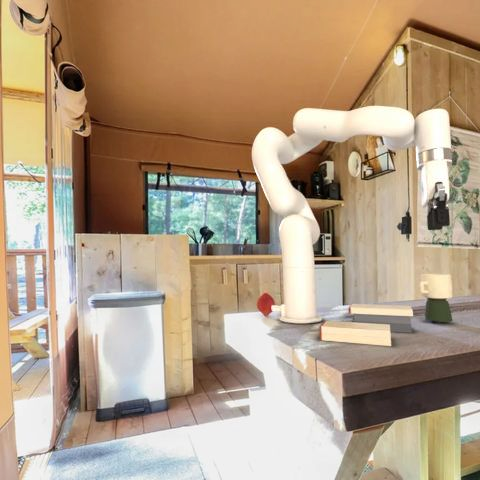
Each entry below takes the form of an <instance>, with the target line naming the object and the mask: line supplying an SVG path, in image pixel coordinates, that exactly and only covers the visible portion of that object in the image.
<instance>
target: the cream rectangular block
mask: <svg viewBox="0 0 480 480" xmlns="http://www.w3.org/2000/svg"><path fill="white" fill-rule="evenodd" d="M318 332H319V333H318V335H319V341H324V342H337V343H349V344H361V345H371V346H383V347H384V346H385V347H392V335H391V334H392V333H391V332H390V324H373V323H356V322H352V321H337V320H336V321H335V320H324V321H323V322H322V323H321V324H320V325H319V326H318Z"/></svg>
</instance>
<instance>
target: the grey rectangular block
mask: <svg viewBox="0 0 480 480" xmlns="http://www.w3.org/2000/svg"><path fill="white" fill-rule="evenodd" d="M411 317H412V316H393V315H372V314H353V318H352V320H351V322H356V323H373V324H390V333H391V332H392V333H404V334H405V333H406V334H412V332H413V331H412V318H411Z"/></svg>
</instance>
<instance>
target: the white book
mask: <svg viewBox="0 0 480 480" xmlns="http://www.w3.org/2000/svg"><path fill="white" fill-rule="evenodd" d="M348 314H353V315H354V314H372V315H393V316H410V317H414V311H413V308H412V306H411V305H400V304H399V305H397V304H396V305H395V304H371V303H369V304H367V303H366V304H365V303H351V304H350V305H349V306H348Z"/></svg>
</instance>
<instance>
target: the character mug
mask: <svg viewBox="0 0 480 480" xmlns="http://www.w3.org/2000/svg"><path fill="white" fill-rule="evenodd" d="M419 278H420V281H419V292H420V294H421V296H422V297H423V298H426V302H425V309H424V320H425V321H432V323H434V324H435V323H437V322H440V323H452V322H453V316H452V311H451V306H450V303H449V301H448V300H449V299H452V298H453V282H452V274H449V273H421V274H420V277H419Z"/></svg>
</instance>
